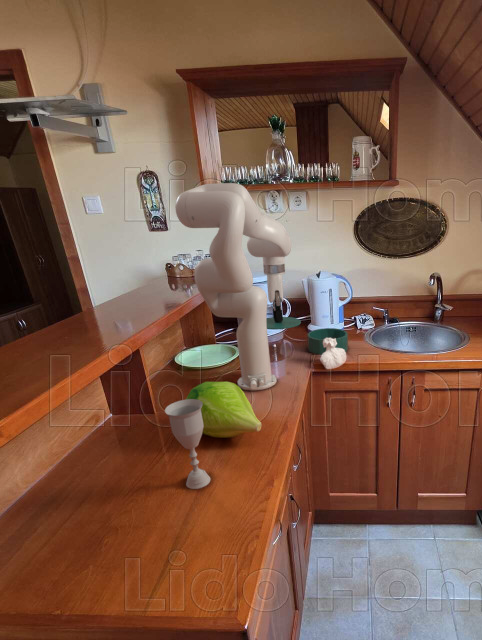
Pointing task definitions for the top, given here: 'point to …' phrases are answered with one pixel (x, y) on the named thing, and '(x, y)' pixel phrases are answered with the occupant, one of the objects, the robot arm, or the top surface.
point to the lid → (282, 323)
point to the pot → (319, 335)
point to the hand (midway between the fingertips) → (278, 319)
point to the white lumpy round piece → (332, 354)
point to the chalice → (189, 435)
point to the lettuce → (224, 409)
